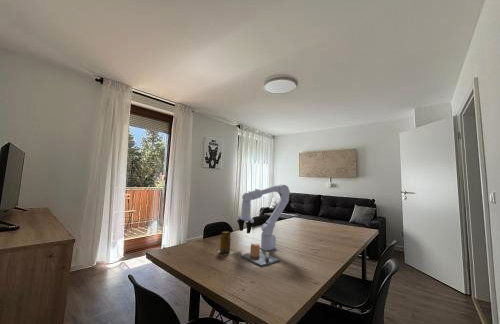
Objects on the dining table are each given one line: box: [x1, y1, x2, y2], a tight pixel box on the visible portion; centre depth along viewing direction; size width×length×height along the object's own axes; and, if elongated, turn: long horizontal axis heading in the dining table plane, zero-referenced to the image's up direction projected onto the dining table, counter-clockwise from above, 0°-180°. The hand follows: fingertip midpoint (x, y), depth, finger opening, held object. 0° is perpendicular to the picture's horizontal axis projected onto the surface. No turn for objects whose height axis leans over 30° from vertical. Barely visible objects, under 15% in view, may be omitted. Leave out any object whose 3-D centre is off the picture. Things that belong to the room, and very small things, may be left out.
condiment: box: [216, 231, 234, 256], centre depth 130 cm, size 7×8×12 cm
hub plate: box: [239, 251, 281, 268], centre depth 121 cm, size 14×18×5 cm
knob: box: [249, 243, 261, 257], centre depth 124 cm, size 5×5×6 cm
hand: (244, 232), depth 140 cm, fingers open, 7 cm apart
